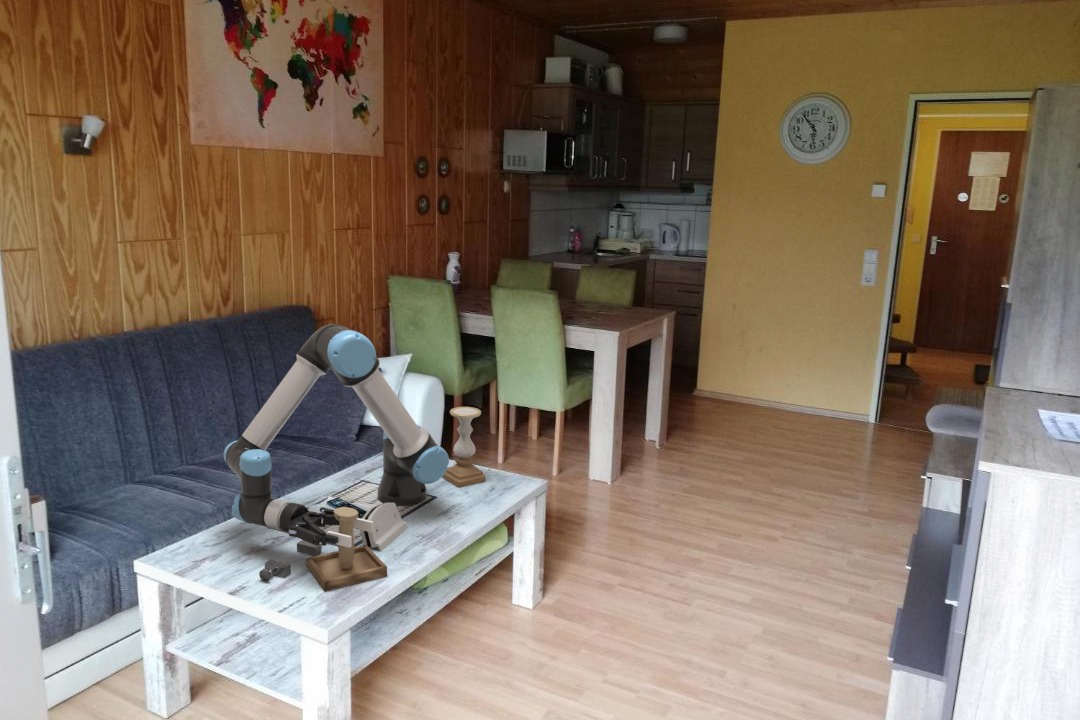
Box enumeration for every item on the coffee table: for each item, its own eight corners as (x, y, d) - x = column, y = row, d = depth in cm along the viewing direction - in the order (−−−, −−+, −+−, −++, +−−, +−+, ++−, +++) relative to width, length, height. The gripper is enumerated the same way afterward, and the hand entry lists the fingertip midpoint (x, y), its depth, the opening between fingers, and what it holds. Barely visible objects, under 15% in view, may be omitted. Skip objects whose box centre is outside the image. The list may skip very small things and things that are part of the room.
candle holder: (441, 477, 267) (442, 408, 261) (468, 471, 273) (470, 404, 268) (458, 488, 258) (460, 417, 253) (486, 481, 265) (488, 412, 260)
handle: (347, 574, 197) (347, 518, 194) (330, 566, 201) (329, 511, 198) (362, 567, 201) (362, 512, 198) (345, 559, 205) (344, 505, 202)
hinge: (380, 552, 213) (369, 517, 211) (365, 554, 214) (354, 520, 213) (408, 527, 228) (398, 494, 227) (394, 529, 230) (383, 497, 229)
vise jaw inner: (302, 548, 213) (302, 539, 212) (321, 552, 211) (321, 544, 210) (296, 551, 210) (296, 543, 210) (315, 556, 208) (315, 547, 208)
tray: (366, 553, 211) (366, 544, 211) (387, 576, 200) (387, 566, 200) (306, 567, 203) (306, 558, 202) (324, 591, 191) (324, 582, 191)
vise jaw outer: (271, 568, 201) (271, 556, 201) (290, 573, 199) (290, 561, 199) (254, 578, 196) (254, 567, 195) (274, 584, 194) (273, 572, 193)
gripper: (313, 514, 216) (385, 531, 208) (259, 547, 196) (336, 566, 188) (313, 488, 214) (385, 504, 206) (258, 518, 194) (335, 537, 187)
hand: (361, 534), depth 197 cm, fingers open, 9 cm apart
